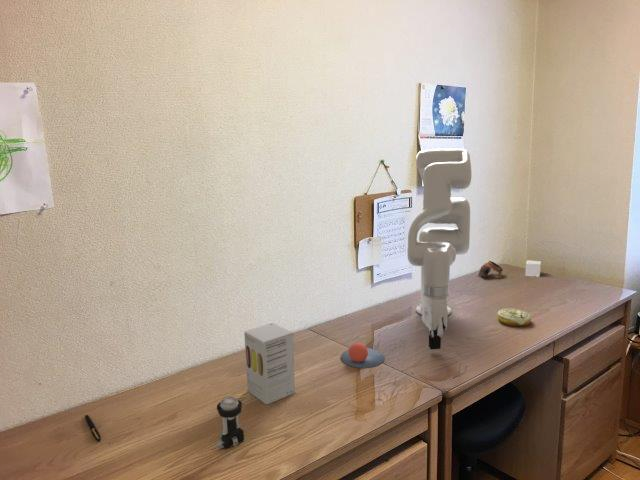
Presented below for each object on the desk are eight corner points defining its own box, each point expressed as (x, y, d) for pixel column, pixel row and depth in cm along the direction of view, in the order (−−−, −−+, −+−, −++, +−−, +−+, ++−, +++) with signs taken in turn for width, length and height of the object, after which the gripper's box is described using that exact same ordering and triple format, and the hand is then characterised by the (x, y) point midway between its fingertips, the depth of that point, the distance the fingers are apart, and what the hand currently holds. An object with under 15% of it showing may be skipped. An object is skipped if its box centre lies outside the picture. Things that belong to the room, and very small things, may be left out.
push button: (223, 456, 101) (219, 413, 99) (209, 445, 105) (206, 403, 103) (249, 442, 105) (246, 400, 103) (235, 432, 109) (232, 392, 107)
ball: (364, 339, 144) (362, 357, 145) (347, 339, 143) (344, 357, 144) (371, 347, 139) (369, 365, 140) (353, 347, 137) (351, 366, 138)
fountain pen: (82, 416, 118) (82, 410, 118) (88, 414, 119) (87, 409, 118) (97, 444, 107) (96, 438, 106) (103, 442, 107) (102, 436, 107)
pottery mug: (481, 273, 229) (491, 259, 227) (497, 285, 224) (507, 271, 222) (471, 273, 220) (481, 258, 218) (488, 285, 215) (498, 270, 212)
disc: (338, 349, 150) (337, 349, 150) (379, 347, 151) (379, 346, 151) (344, 369, 137) (344, 368, 137) (389, 366, 139) (389, 365, 138)
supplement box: (246, 391, 127) (242, 330, 124) (275, 379, 133) (272, 321, 129) (266, 405, 120) (263, 342, 116) (296, 392, 126) (294, 331, 122)
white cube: (540, 273, 225) (541, 261, 224) (539, 277, 220) (540, 264, 218) (526, 272, 228) (526, 260, 226) (525, 275, 222) (526, 263, 221)
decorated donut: (526, 330, 162) (527, 319, 161) (493, 324, 168) (494, 313, 167) (533, 320, 170) (533, 310, 169) (501, 314, 176) (502, 304, 175)
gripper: (416, 283, 149) (415, 338, 153) (431, 298, 135) (430, 360, 138) (439, 281, 150) (438, 337, 154) (457, 297, 135) (455, 358, 139)
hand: (434, 347), depth 146 cm, fingers closed
